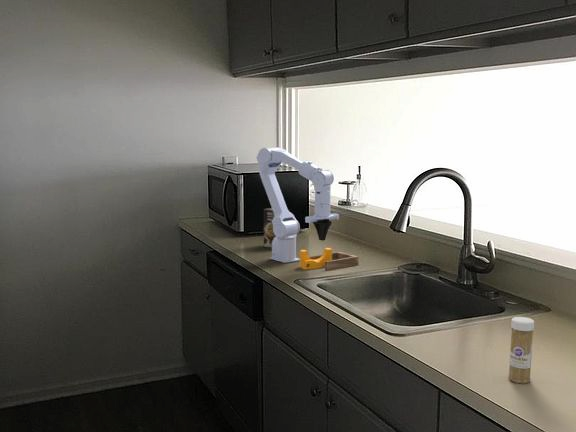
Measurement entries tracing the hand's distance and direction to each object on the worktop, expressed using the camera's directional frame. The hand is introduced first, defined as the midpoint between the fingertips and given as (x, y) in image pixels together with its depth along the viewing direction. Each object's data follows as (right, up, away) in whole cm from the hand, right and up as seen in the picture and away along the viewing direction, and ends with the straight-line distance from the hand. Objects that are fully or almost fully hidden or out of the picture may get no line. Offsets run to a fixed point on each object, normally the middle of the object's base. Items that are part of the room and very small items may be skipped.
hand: (322, 240), depth 249 cm
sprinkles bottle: (+37, -26, -105) cm, 115 cm away
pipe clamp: (-2, -10, 0) cm, 10 cm away
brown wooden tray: (+5, -9, +4) cm, 11 cm away
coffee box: (-18, -4, +38) cm, 42 cm away
